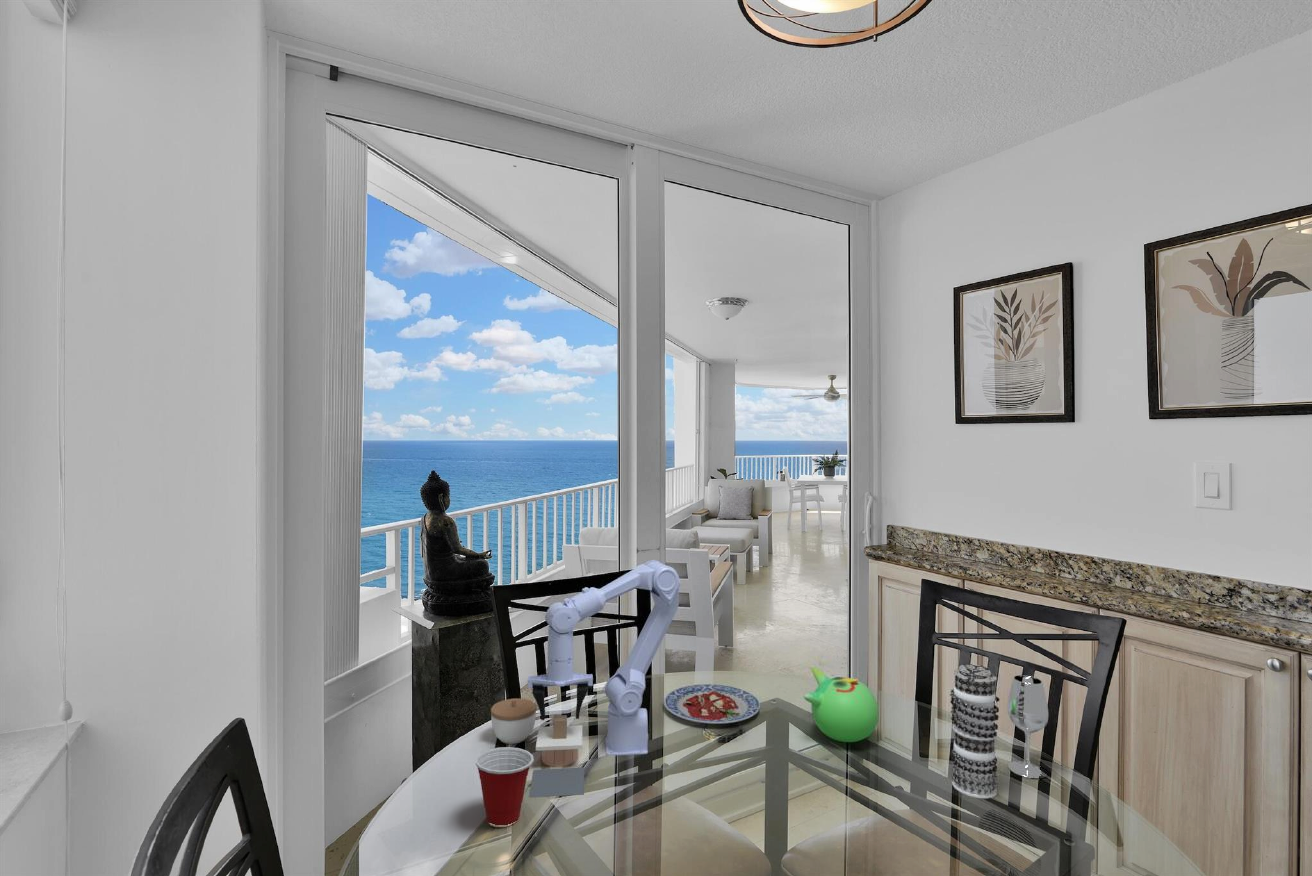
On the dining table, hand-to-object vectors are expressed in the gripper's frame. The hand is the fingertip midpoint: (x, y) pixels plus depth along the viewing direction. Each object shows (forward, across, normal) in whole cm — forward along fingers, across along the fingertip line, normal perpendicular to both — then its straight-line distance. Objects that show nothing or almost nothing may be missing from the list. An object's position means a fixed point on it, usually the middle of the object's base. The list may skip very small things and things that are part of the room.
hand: (560, 717), depth 147 cm
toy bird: (+10, +68, +5) cm, 69 cm away
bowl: (+9, 0, 0) cm, 9 cm away
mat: (+9, 0, -10) cm, 14 cm away
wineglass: (+10, +102, -15) cm, 104 cm away
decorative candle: (+10, +86, -20) cm, 89 cm away
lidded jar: (+10, -12, +11) cm, 19 cm away
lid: (+5, 0, 0) cm, 5 cm away
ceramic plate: (+10, +39, +24) cm, 47 cm away
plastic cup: (+9, -10, -23) cm, 27 cm away
